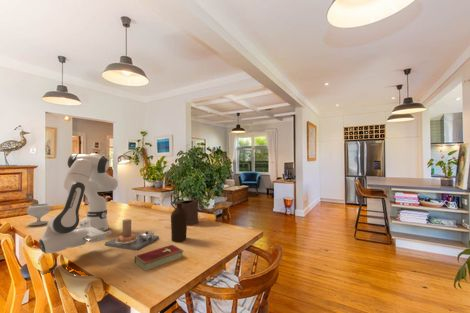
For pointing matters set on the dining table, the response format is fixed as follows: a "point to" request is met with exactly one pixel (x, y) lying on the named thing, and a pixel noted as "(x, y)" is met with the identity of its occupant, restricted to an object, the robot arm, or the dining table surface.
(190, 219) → the cup holder
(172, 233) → the olive oil
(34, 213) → the chalice
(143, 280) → the dining table surface
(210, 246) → the dining table surface
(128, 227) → the gear
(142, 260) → the hardcover book
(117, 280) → the dining table surface
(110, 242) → the carrier plate
